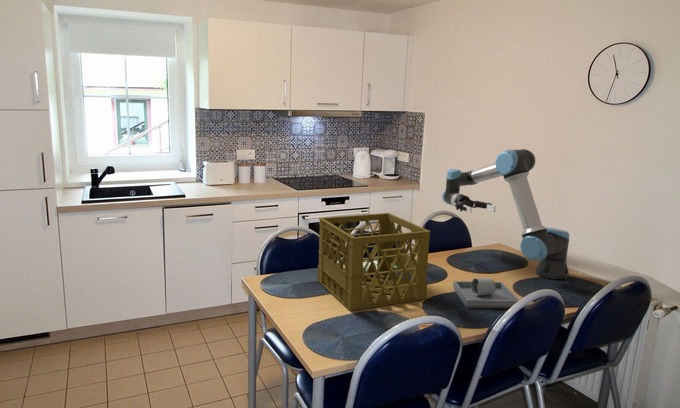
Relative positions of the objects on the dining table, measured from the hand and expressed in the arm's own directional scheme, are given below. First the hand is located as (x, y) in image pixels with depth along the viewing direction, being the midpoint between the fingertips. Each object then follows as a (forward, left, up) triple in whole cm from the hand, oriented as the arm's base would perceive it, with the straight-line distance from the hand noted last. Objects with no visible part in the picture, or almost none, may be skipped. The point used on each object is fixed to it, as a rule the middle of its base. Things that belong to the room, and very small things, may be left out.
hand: (482, 209), depth 252 cm
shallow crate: (+9, +40, -30) cm, 51 cm away
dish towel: (+50, -1, -31) cm, 59 cm away
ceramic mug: (+10, +37, -29) cm, 49 cm away
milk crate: (+58, +34, -30) cm, 74 cm away
